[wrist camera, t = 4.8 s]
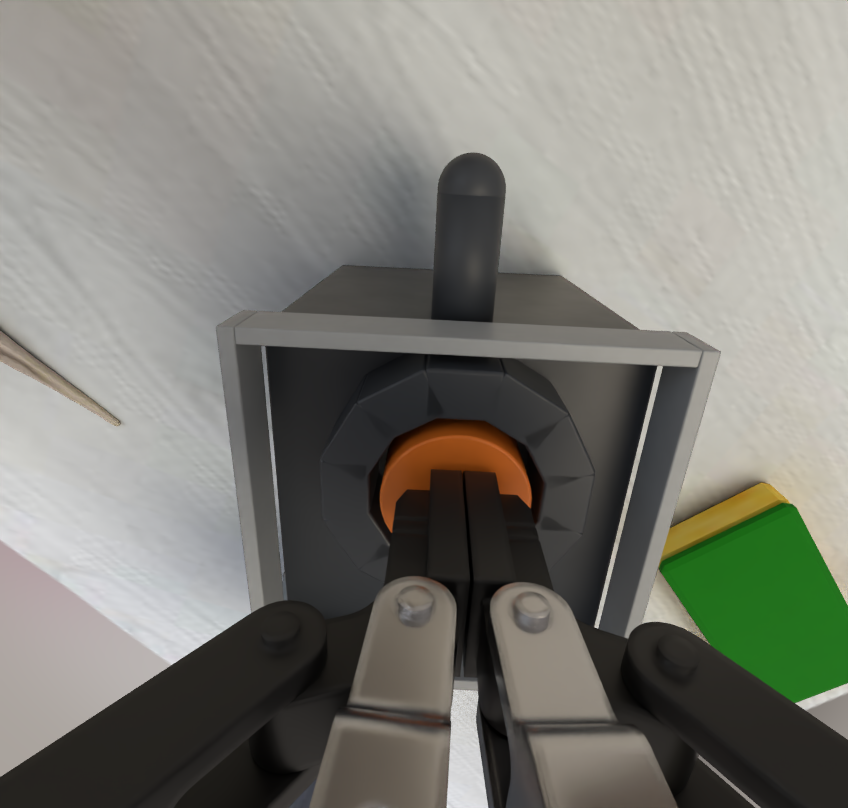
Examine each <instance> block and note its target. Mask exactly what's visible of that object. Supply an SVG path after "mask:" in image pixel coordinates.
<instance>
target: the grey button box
mask: <svg viewBox="0 0 848 808" xmlns="http://www.w3.org/2000/svg"><path fill="white" fill-rule="evenodd" d="M433 272H434V270H430V269H410V268H390V267H369V266H349V265H343V266H341V267H340V268H338V269H337V270H336V271H334V272H333V273H332V274H331V275H329V276H328V277H327V278H325V279H324V280H323V281H321V282H320V283H319V284H317V285H316V286H315V287H313V288H312V289H311V290H309V291H308V292H307V293H305V294H304V295H303V296H302V297H300V298H299V299H298V300H296V301H295V302H294V303H292V304H291V305H290V306H288V307H287V308H286V309H284V310H283V311H282V312H290V313H310V314H330V315H350V316H370V317H390V318H410V319H430V320H431V312H432V292H433ZM493 323H510V324H530V325H550V326H570V327H590V328H610V329H630V330H640V329H638V328H637V327H635V326H634V325H632V324H631V323H629V322H628V321H626V320H625V319H624V318H622V317H621V316H619V315H618V314H616V313H615V312H613V311H612V310H610V309H609V308H608V307H606V306H605V305H603V304H602V303H600V302H599V301H597V300H596V299H594V298H593V297H592V296H590V295H589V294H587V293H586V292H584V291H583V290H581V289H580V288H578V287H577V286H576V285H574V284H573V283H571V282H570V281H568V280H567V279H565V278H564V277H562V276H553V275H532V274H512V273H498V274H497V284H496V294H495V304H494V314H493ZM265 347H266V359H267V371H268V382H269V394H270V406H271V417H272V429H273V441H274V452H275V464H276V476H277V487H278V499H279V511H280V522H281V534H282V546H283V557H284V569H285V581H286V592H287V600H295V601H301V602H305V603H308V604H310V605H312V606H314V607H315V608H317V609H318V610H319V611H320V612H321V614H322V615H323V617H324V619H325V620H326V619H330V618H335V617H340V616H344V615H348V614H352V613H355V612H357V611H359V610H361V609H363V608H365V607H367V606H368V605H369V604H371V603H372V602H373V601H374V600H375V598H376V596H377V594H378V592H379V591H380V590H381V589H382V588H383V586H384V582H385V576H386V569H387V562H388V555H389V548H390V541H391V534H392V533H391V532H390V530H389V528H388V527H387V525H386V523H385V521H384V518H383V516H382V512H381V508H380V489H381V484H382V479H383V474H384V469H385V464H386V459H387V453H388V449H389V445H390V444H391V442H392V441H393V440H394V438H395V437H398V436H400V435H402V434H404V433H406V432H409V431H411V430H413V429H415V428H417V427H419V426H422V425H424V424H426V423H428V422H430V421H433V420H435V419H437V418H438V419H458V420H477V421H486V422H487V423H489V424H491V425H492V426H494V427H496V428H497V429H499V430H501V431H502V432H504V433H506V434H507V435H509V436H510V437H512V438H514V439H515V440H516V441H517V444H518V447H519V450H520V453H521V456H522V460H523V463H524V466H525V469H526V473H527V476H528V479H529V483H530V487H531V494H532V502H531V512H532V515H533V519H534V522H535V528H536V529H537V533H538V536H539V541H540V543H541V547H542V550H543V554H544V557H545V561H546V565H547V568H548V572H549V575H550V579H551V582H552V586H553V589H554V592H556V593H557V594H558V595H560V596H561V597H562V598H563V599H564V600H565V601H566V602H567V604H568V605H569V606H570V608H571V610H572V612H573V615H574V617H575V618H577V619H578V620H580V621H581V622H583V623H585V624H587V625H589V626H591V627H594V625H595V621H596V617H597V613H598V609H599V605H600V600H601V596H602V592H603V588H604V584H605V580H606V576H607V572H608V567H609V563H610V559H611V555H612V551H613V547H614V543H615V539H616V534H617V530H618V526H619V522H620V518H621V514H622V510H623V506H624V501H625V497H626V493H627V489H628V485H629V481H630V477H631V473H632V468H633V464H634V460H635V456H636V452H637V448H638V444H639V439H640V435H641V431H642V427H643V423H644V419H645V415H646V411H647V406H648V402H649V398H650V394H651V390H652V386H653V382H654V378H655V373H656V369H657V366H654V365H634V364H614V363H595V362H575V361H555V360H536V359H516V358H496V357H476V356H457V355H437V354H417V353H397V352H378V351H358V350H338V349H318V348H299V347H279V346H265Z"/></svg>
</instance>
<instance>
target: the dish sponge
mask: <svg viewBox="0 0 848 808" xmlns="http://www.w3.org/2000/svg"><path fill="white" fill-rule="evenodd" d="M658 568H659V570H660V572H661V573H662V575H663V576H664V578H665V579H666V581H667V582H668V583H669V585H670V586H671V588H672V589H673V591H674V592H675V594H676V595H677V597H678V598H679V600H680V601H681V603H682V604H683V605H684V607H685V608H686V610H687V611H688V613H689V614H690V616H691V617H692V619H693V620H694V622H695V623H696V624H697V626H698V627H699V629H700V630H701V632H702V633H703V635H704V636H705V638H706V639H707V641H708V642H709V644H710V645H711V646H712V647H714V648H715V649H716V650H718V651H719V652H721V653H722V654H724V655H725V656H727V657H728V658H730V659H731V660H732V661H734V662H735V663H737V664H738V665H740V666H741V667H743V668H744V669H746V670H747V671H748V672H750V673H751V674H753V675H754V676H756V677H757V678H759V679H760V680H762V681H763V682H764V683H766V684H767V685H769V686H770V687H772V688H773V689H775V690H776V691H778V692H779V693H780V694H782V695H783V696H785V697H786V698H788V699H789V700H791V701H792V702H794V703H796V702H799V701H802V700H804V699H807V698H810V697H812V696H815V695H818V694H820V693H823V692H825V691H828V690H831V689H833V688H836V687H839V686H841V685H844V684H847V683H848V605H847V604H846V602H845V600H844V598H843V596H842V594H841V592H840V590H839V588H838V586H837V584H836V583H835V581H834V579H833V577H832V575H831V573H830V571H829V569H828V567H827V565H826V563H825V562H824V560H823V558H822V556H821V554H820V552H819V550H818V548H817V546H816V544H815V542H814V540H813V539H812V537H811V535H810V533H809V531H808V529H807V527H806V525H805V523H804V521H803V519H802V518H801V516H800V514H799V512H798V510H797V508H796V507H795V506H794V505H793V504H790V503H789V501H788V500H787V499H786V498H785V497H784V496H782V495H781V494H780V493H779V492H778V491H777V490H776V489H774V488H773V487H772V486H771V485H770V484H765V483H759V484H757V485H755V486H753V487H751V488H749V489H747V490H745V491H743V492H741V493H739V494H737V495H735V496H733V497H731V498H729V499H727V500H725V501H723V502H721V503H719V504H717V505H715V506H713V507H711V508H709V509H707V510H705V511H703V512H701V513H699V514H697V515H695V516H693V517H691V518H689V519H687V520H685V521H683V522H681V523H679V524H677V525H675V526H673V527H671V528H670V529H669V532H668V535H667V539H666V542H665V546H664V549H663V553H662V556H661V559H660V563H659V566H658Z"/></svg>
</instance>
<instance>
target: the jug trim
mask: <svg viewBox="0 0 848 808" xmlns="http://www.w3.org/2000/svg"><path fill="white" fill-rule="evenodd" d="M505 193H506V184H505V178H504V175H503V173H502V171H501V169H500V167H499V166H498V165H497V164H496V162H495V161H494V160H492V159H491V158H489V157H488V156H486V155H483V154H480V153H466V154H462V155H460V156H458V157H456V158H454V159H453V160H452V161H451V162H449V164H448V165H447V166H446V167H445V168H444V170H443V172H442V174H441V176H440V179H439V183H438V193H437V212H436V232H435V252H434V272H433V292H432V312H431V320H430V319H410V318H390V317H370V316H350V315H330V314H310V313H290V312H270V311H259V312H257V311H250V310H243V311H241V312H239V313H237V314H236V315H234V316H232V317H231V318H229V319H227V320H226V321H224V322H222V323H221V324H219V325H217V326H216V332H217V340H218V348H219V356H220V364H221V372H222V380H223V388H224V396H225V404H226V412H227V420H228V428H229V436H230V444H231V452H232V460H233V469H234V477H235V485H236V493H237V501H238V509H239V517H240V525H241V533H242V541H243V549H244V557H245V565H246V573H247V581H248V589H249V597H250V605H251V613H252V612H254V611H255V610H257V609H259V608H261V607H263V606H265V605H267V604H270V603H274V602H277V601H284V598H283V587H282V576H281V564H280V553H279V542H278V531H277V520H276V508H275V497H274V486H273V475H272V464H271V453H270V441H269V430H268V419H267V408H266V397H265V385H264V374H263V363H262V352H261V346H279V347H299V348H318V349H338V350H358V351H378V352H397V353H417V354H437V355H457V356H476V357H496V358H516V359H536V360H555V361H575V362H595V363H614V364H634V365H654V366H663V369H662V373H661V377H660V381H659V385H658V389H657V393H656V397H655V401H654V405H653V409H652V413H651V418H650V422H649V426H648V430H647V434H646V438H645V442H644V446H643V450H642V454H641V458H640V462H639V466H638V470H637V474H636V478H635V482H634V486H633V490H632V494H631V498H630V502H629V507H628V511H627V515H626V519H625V523H624V527H623V531H622V535H621V539H620V543H619V547H618V551H617V555H616V559H615V563H614V567H613V571H612V575H611V579H610V583H609V587H608V591H607V595H606V600H605V604H604V608H603V612H602V616H601V620H600V624H599V628H598V629H599V630H603V631H606V632H609V633H612V634H615V635H618V636H622V637H625V638H629V635H630V633H631V631H632V630H633V629H634V628H635V627H637V626H639V625H641V624H642V621H643V617H644V614H645V611H646V607H647V604H648V600H649V597H650V594H651V590H652V587H653V583H654V580H655V576H656V573H657V570H658V566H659V563H660V559H661V556H662V553H663V549H664V546H665V542H666V539H667V535H668V532H669V529H670V525H671V522H672V518H673V515H674V511H675V508H676V505H677V501H678V498H679V494H680V491H681V488H682V484H683V481H684V477H685V474H686V470H687V467H688V464H689V460H690V457H691V453H692V450H693V447H694V443H695V440H696V436H697V433H698V429H699V426H700V423H701V419H702V416H703V412H704V409H705V405H706V402H707V399H708V395H709V392H710V388H711V385H712V382H713V378H714V375H715V371H716V368H717V364H718V361H719V358H720V354H721V352H720V351H719V350H717V349H715V348H713V347H712V346H710V345H708V344H706V343H705V342H703V341H701V340H699V339H697V338H696V337H694V336H692V335H690V334H689V333H687V332H670V331H650V330H630V329H610V328H590V327H570V326H550V325H530V324H510V323H493V314H494V304H495V294H496V284H497V274H498V264H499V254H500V244H501V234H502V224H503V214H504V204H505ZM453 689H455V690H473V691H478V682H477V678H471V677H464V671H463V654H462V664H461V674H460V677H454V687H453Z"/></svg>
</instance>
